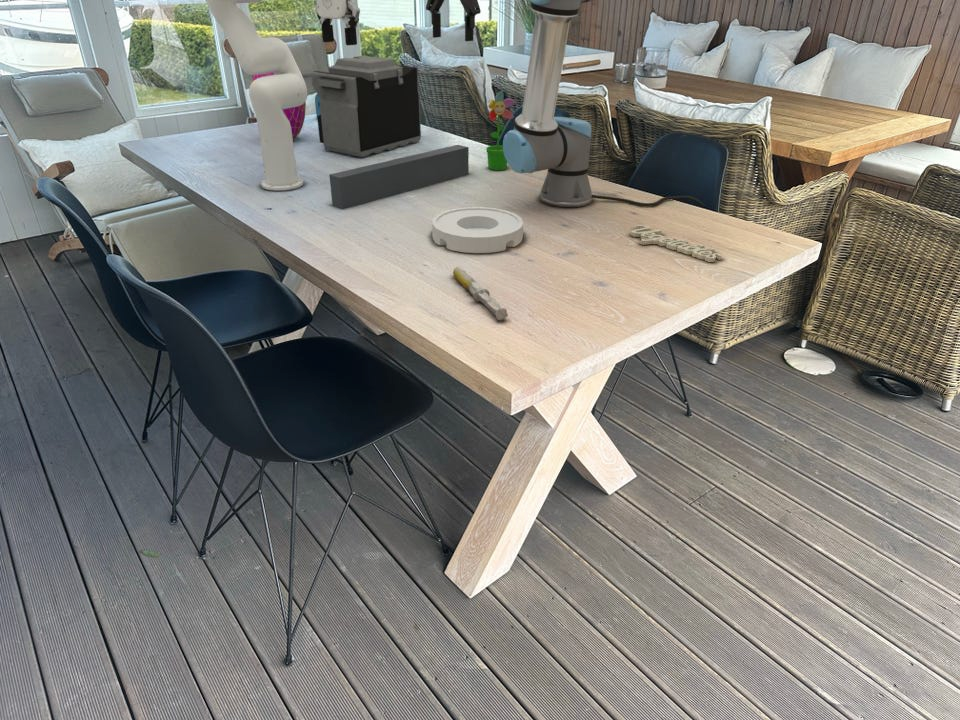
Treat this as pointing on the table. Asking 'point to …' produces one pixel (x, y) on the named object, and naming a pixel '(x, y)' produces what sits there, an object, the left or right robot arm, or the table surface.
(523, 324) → the table surface
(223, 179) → the table surface
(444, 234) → the ashtray
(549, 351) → the table surface
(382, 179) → the beam
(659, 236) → the decorative sign
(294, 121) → the magenta tall rounded piece
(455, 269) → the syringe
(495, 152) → the potted flower
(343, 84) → the black cooler box
